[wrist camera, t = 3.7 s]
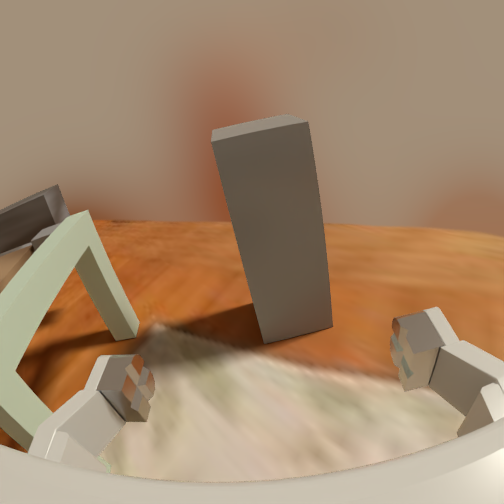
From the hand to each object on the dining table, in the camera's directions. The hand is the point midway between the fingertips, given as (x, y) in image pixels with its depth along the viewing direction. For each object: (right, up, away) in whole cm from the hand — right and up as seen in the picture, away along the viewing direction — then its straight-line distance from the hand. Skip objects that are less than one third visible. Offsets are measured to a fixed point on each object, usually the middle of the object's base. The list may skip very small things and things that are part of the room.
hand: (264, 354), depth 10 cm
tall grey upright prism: (+3, -2, +15) cm, 15 cm away
